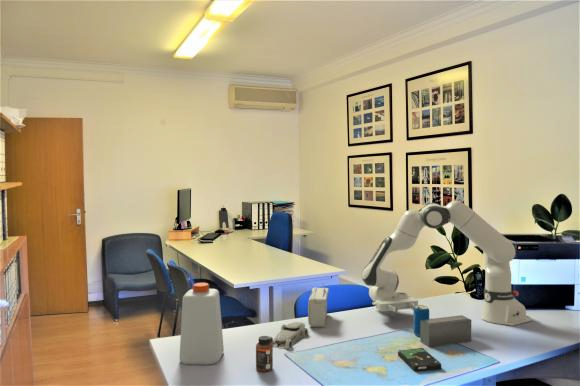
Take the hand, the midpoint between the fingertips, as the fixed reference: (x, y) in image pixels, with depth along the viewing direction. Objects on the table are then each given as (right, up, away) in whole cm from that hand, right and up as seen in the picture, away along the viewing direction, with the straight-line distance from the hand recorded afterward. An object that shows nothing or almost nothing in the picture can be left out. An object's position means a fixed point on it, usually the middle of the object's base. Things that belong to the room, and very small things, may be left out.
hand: (405, 309), depth 207 cm
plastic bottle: (-85, -10, -34) cm, 92 cm away
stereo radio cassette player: (-39, -8, +8) cm, 40 cm away
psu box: (+12, -8, -19) cm, 24 cm away
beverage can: (+4, -8, -11) cm, 15 cm away
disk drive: (-5, -10, -39) cm, 41 cm away
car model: (-52, -9, -14) cm, 55 cm away
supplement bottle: (-61, -10, -44) cm, 76 cm away
